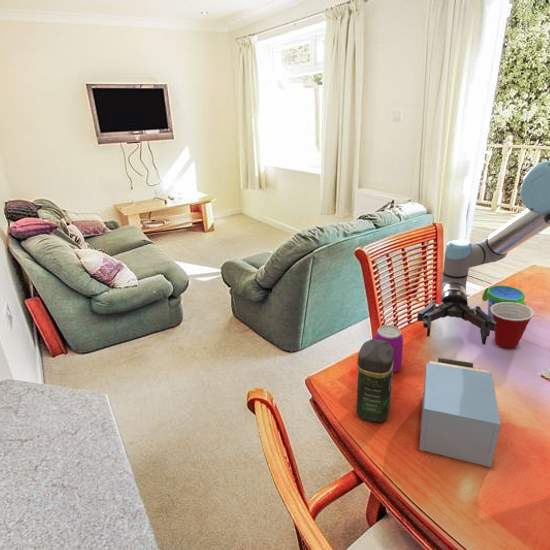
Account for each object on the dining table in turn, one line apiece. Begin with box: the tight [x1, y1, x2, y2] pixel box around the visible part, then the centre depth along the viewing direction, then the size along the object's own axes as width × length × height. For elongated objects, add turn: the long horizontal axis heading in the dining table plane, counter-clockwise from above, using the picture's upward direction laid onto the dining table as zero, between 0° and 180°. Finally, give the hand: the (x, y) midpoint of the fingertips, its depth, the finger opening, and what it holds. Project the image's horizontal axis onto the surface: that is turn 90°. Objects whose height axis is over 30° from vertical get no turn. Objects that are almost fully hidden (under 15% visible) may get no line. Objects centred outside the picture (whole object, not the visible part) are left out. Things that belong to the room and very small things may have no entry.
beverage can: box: [374, 324, 404, 373], centre depth 106 cm, size 8×8×12 cm
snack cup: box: [481, 284, 527, 320], centre depth 124 cm, size 16×10×10 cm
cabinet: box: [419, 362, 502, 468], centre depth 83 cm, size 16×14×12 cm
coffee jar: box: [355, 338, 394, 423], centre depth 90 cm, size 10×8×19 cm
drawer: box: [428, 357, 488, 373], centre depth 88 cm, size 20×13×10 cm, turn 158°
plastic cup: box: [490, 302, 535, 350], centre depth 111 cm, size 11×11×12 cm
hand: (455, 336), depth 100 cm, fingers open, 13 cm apart
